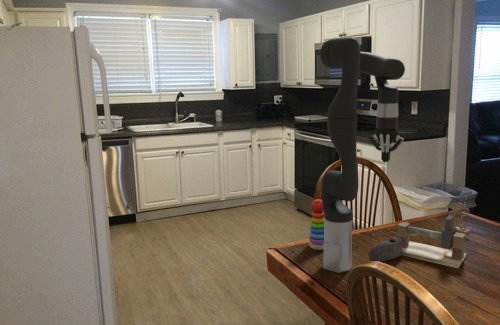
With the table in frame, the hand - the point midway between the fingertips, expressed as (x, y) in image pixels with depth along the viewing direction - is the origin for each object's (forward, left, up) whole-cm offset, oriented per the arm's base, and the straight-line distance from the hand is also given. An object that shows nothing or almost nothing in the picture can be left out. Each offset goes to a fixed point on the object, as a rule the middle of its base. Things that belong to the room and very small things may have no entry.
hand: (385, 161), depth 160 cm
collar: (-2, -24, -27) cm, 36 cm away
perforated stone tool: (-15, -7, -32) cm, 36 cm away
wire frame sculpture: (+30, -20, -32) cm, 48 cm away
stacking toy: (-18, +18, -32) cm, 41 cm away
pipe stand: (-2, -18, -32) cm, 37 cm away
